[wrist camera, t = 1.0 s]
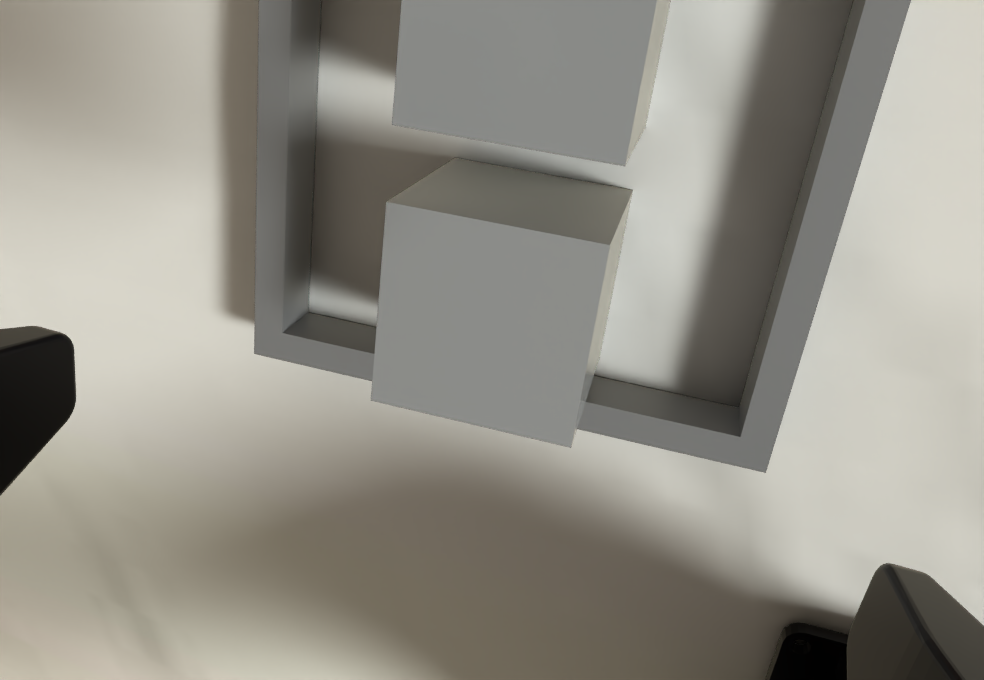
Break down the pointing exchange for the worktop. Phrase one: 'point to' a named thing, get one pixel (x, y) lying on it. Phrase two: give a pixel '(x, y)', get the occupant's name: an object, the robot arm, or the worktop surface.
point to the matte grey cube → (531, 72)
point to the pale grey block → (497, 296)
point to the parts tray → (609, 403)
